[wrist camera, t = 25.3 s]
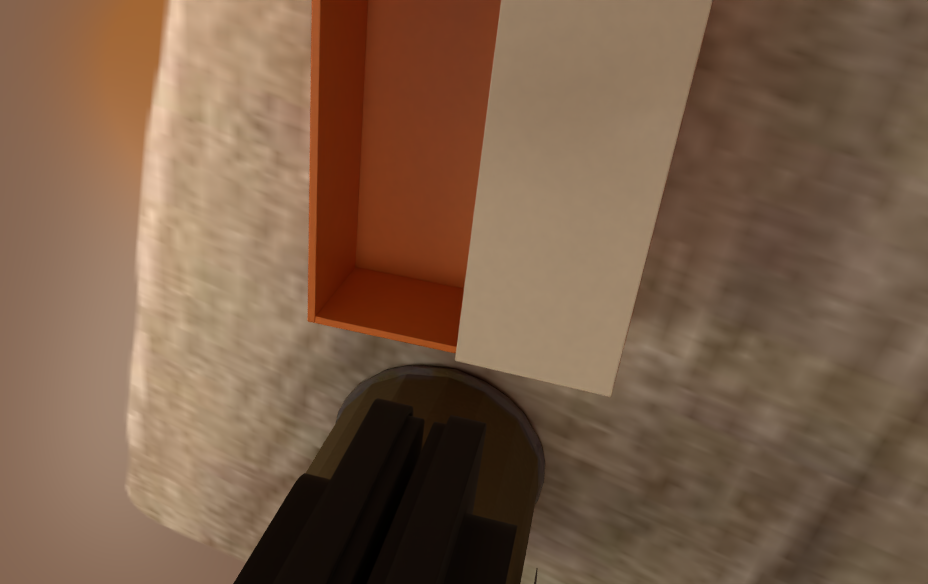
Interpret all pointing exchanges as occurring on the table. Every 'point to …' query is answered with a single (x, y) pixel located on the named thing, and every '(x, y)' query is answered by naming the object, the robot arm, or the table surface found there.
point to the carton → (396, 162)
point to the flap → (573, 181)
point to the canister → (434, 399)
